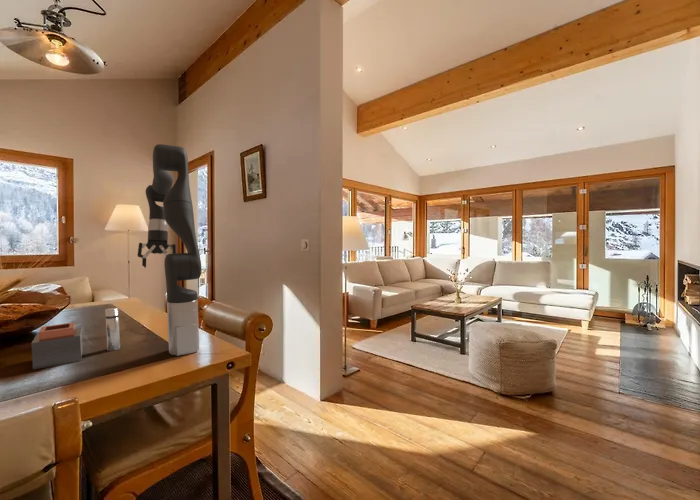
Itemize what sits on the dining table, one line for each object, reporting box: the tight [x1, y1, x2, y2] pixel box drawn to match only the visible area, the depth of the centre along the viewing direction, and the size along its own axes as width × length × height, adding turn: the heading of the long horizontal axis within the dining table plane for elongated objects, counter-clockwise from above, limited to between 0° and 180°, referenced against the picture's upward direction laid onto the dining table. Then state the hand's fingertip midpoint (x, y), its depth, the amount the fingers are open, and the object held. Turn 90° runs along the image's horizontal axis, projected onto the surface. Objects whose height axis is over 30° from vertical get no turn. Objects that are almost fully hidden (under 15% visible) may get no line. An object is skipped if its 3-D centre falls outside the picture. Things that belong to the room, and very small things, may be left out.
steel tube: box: [104, 307, 121, 352], centre depth 113 cm, size 4×4×14 cm
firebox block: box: [30, 321, 84, 371], centre depth 103 cm, size 11×11×10 cm
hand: (156, 267), depth 141 cm, fingers open, 8 cm apart
